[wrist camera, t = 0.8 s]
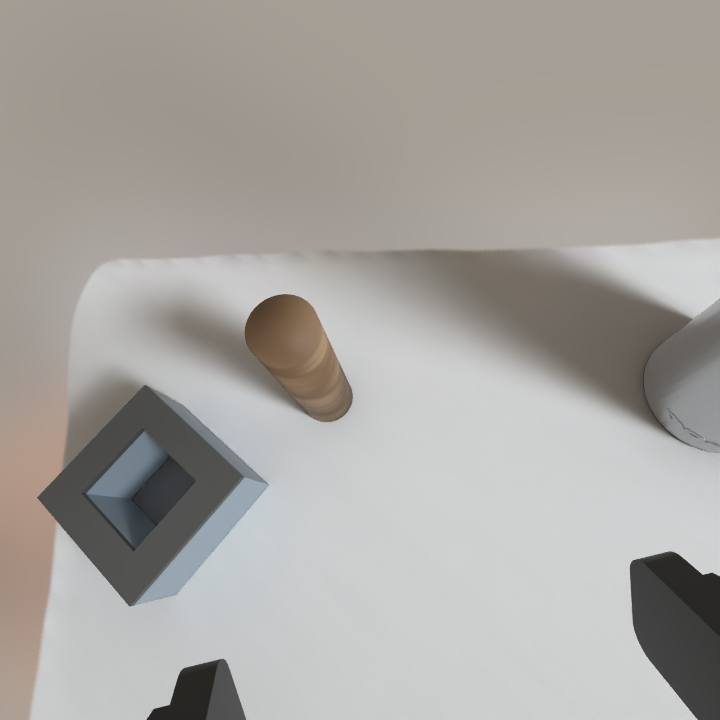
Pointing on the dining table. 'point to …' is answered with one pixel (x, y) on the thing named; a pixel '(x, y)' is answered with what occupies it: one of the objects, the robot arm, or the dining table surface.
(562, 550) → the dining table surface
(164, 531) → the collar
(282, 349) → the walnut peg
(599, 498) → the dining table surface
